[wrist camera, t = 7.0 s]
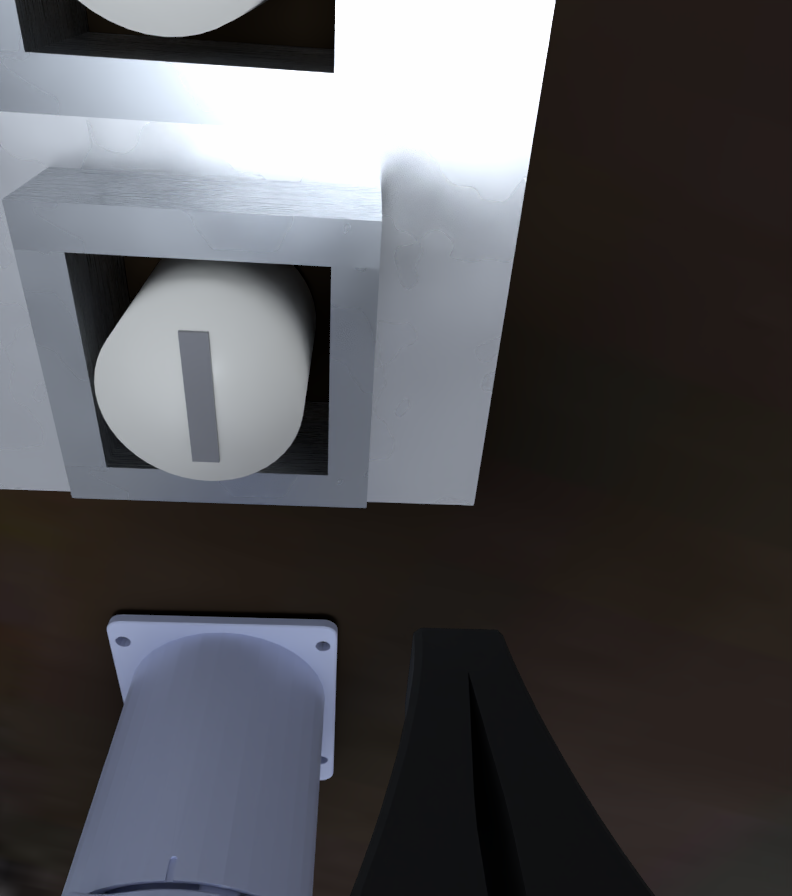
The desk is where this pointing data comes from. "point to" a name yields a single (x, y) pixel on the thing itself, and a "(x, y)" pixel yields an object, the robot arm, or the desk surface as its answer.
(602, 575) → the desk surface
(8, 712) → the desk surface
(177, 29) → the knob
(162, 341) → the knob
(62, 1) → the mount
